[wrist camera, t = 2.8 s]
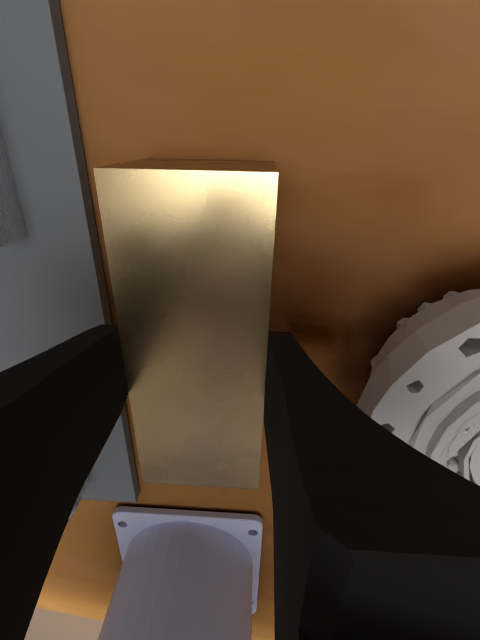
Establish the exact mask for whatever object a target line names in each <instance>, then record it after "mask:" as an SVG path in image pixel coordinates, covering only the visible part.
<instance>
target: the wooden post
mask: <svg viewBox="0 0 480 640" xmlns="http://www.w3.org/2000/svg"><path fill="white" fill-rule="evenodd" d="M93 170H94V176H95V183H96V189H97V195H98V202H99V208H100V214H101V221H102V227H103V234H104V240H105V246H106V253H107V259H108V265H109V272H110V278H111V285H112V291H113V297H114V304H115V310H116V316H117V323H118V329H119V335H120V342H121V348H122V355H123V361H124V367H125V374H126V380H127V386H128V393H129V399H130V406H131V412H132V418H133V425H134V431H135V437H136V444H137V450H138V457H139V463H140V469H141V476H142V482H143V483H159V484H175V485H192V486H209V487H225V488H242V489H259V476H260V460H261V444H262V428H263V412H264V394H265V378H266V362H267V346H268V332H269V316H270V300H271V284H272V268H273V252H274V236H275V220H276V204H277V188H278V170H277V168H276V166H275V164H274V162H273V161H234V160H191V159H147V158H146V159H141V160H135V161H129V162H124V163H118V164H112V165H107V166H101V167H95V168H93Z"/></svg>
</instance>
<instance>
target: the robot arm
mask: <svg viewBox="0 0 480 640" xmlns="http://www.w3.org/2000/svg"><path fill="white" fill-rule="evenodd" d="M127 395H128V386H127V380H126V374H125V367H124V361H123V355H122V348H121V342H120V335H119V329H118V325H103V324H101V325H99V326H96V327H93V328H91V329H89V330H86V331H84V332H82V333H80V334H78V335H76V336H74V337H72V338H70V339H68V340H66V341H64V342H62V343H60V344H58V345H56V346H54V347H52V348H50V349H48V350H46V351H44V352H42V353H40V354H38V355H36V356H34V357H32V358H30V359H27V360H25V361H23V362H21V363H19V364H17V365H14V366H12V367H10V368H8V369H6V370H4V371H1V372H0V640H24V638H25V635H26V632H27V629H28V627H29V624H30V621H31V618H32V615H33V612H34V609H35V607H36V604H37V601H38V598H39V595H40V592H41V589H42V587H43V584H44V581H45V579H46V576H47V573H48V571H49V568H50V565H51V563H52V560H53V557H54V555H55V552H56V549H57V547H58V544H59V542H60V539H61V536H62V534H63V532H64V529H65V527H66V524H67V522H68V519H69V517H70V514H71V512H72V509H73V507H74V504H75V502H76V500H77V498H78V496H79V494H80V491H81V489H82V487H83V485H84V483H85V481H86V479H87V477H88V476H89V474H90V472H91V470H92V468H93V466H94V464H95V462H96V460H97V459H98V457H99V455H100V453H101V451H102V449H103V447H104V445H105V444H106V442H107V440H108V438H109V436H110V434H111V432H112V430H113V428H114V426H115V424H116V422H117V420H118V418H119V416H120V414H121V412H122V409H123V407H124V404H125V401H126V398H127ZM264 426H265V435H266V445H267V454H268V463H269V472H270V481H271V490H272V502H273V529H274V603H275V640H480V486H479V485H477V484H475V483H473V482H471V481H469V480H467V479H466V478H464V477H462V476H460V475H458V474H457V473H455V472H453V471H451V470H450V469H448V468H446V467H445V466H443V465H441V464H439V463H438V462H436V461H434V460H433V459H431V458H429V457H427V456H426V455H424V454H423V453H421V452H419V451H418V450H416V449H415V448H413V447H412V446H410V445H408V444H407V443H405V442H404V441H403V440H401V439H400V438H398V437H397V436H395V435H394V434H392V433H391V432H390V431H388V430H387V429H385V428H384V427H382V426H381V425H380V424H378V423H377V422H376V421H374V420H373V419H372V418H370V417H369V416H368V415H367V414H366V413H364V412H363V411H362V410H361V409H359V408H358V407H357V406H356V405H355V404H353V403H352V402H351V401H350V400H349V399H348V398H347V397H345V396H344V395H343V394H342V393H341V392H340V391H339V390H338V389H337V388H336V387H335V386H334V385H333V384H332V383H331V382H330V381H329V380H328V379H327V378H326V377H325V375H324V374H323V373H322V372H321V371H320V370H319V369H318V367H317V366H316V365H315V364H314V363H313V362H312V360H311V359H310V358H309V357H308V355H307V354H306V353H305V351H304V350H303V349H302V347H301V346H300V345H299V343H298V342H297V341H296V339H295V338H294V336H293V335H292V334H291V333H290V332H272V331H269V332H268V346H267V362H266V378H265V394H264ZM112 518H113V523H114V527H115V531H116V536H117V540H118V544H119V549H120V553H121V558H122V562H123V564H122V567H121V570H120V573H119V576H118V579H117V583H116V586H115V589H114V592H113V595H112V598H111V601H110V604H109V607H108V610H107V613H106V616H105V619H104V622H103V626H102V629H101V632H100V635H99V638H98V640H251V631H252V614H254V613H255V612H256V609H257V596H258V583H259V570H260V557H261V543H262V530H263V520H262V518H261V517H260V516H258V515H255V514H242V513H226V512H210V511H194V510H178V509H162V508H146V507H129V506H119V507H117V508H115V510H114V512H113V515H112Z"/></svg>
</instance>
